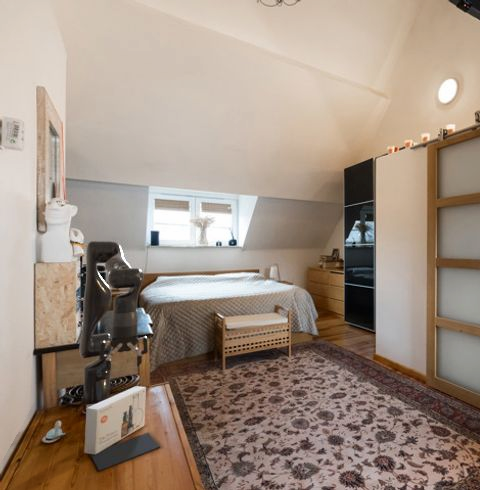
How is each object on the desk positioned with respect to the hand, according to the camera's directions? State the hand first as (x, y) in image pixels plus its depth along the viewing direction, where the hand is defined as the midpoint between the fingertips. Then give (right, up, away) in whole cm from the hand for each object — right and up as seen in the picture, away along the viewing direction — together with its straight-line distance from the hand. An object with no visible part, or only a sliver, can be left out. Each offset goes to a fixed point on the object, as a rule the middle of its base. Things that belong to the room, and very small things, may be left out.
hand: (124, 367), depth 127 cm
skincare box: (-6, -29, +5) cm, 30 cm away
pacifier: (-29, -28, +4) cm, 41 cm away
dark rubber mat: (+2, -29, -2) cm, 29 cm away
